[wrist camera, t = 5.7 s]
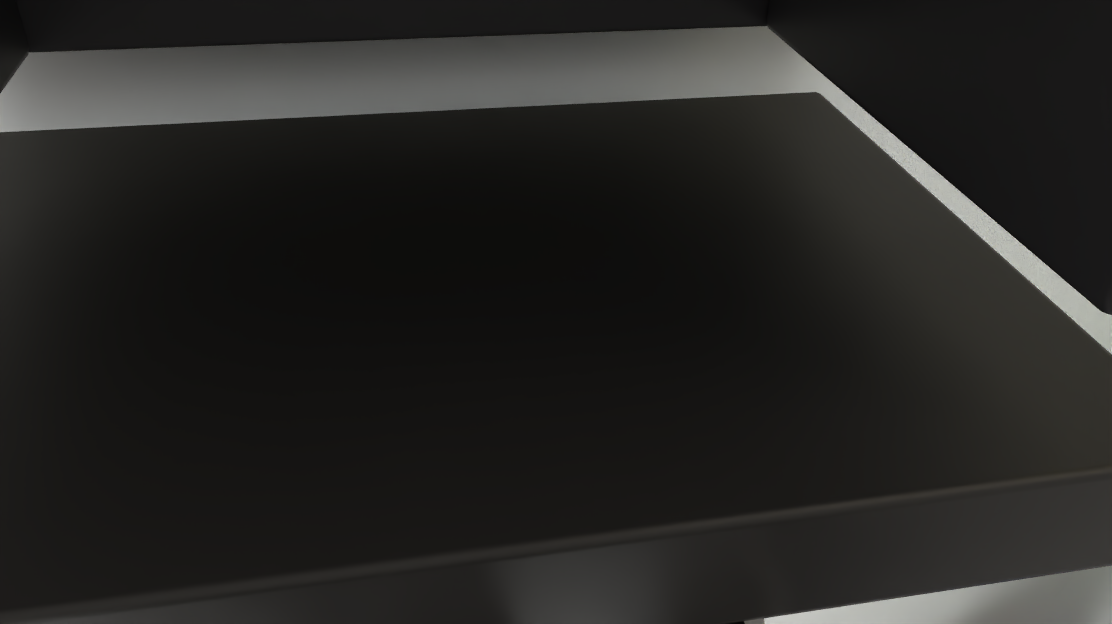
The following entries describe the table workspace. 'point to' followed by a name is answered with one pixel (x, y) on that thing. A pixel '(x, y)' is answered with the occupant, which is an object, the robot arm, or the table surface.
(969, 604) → the table surface
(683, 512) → the dark grey drawer
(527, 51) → the table surface
